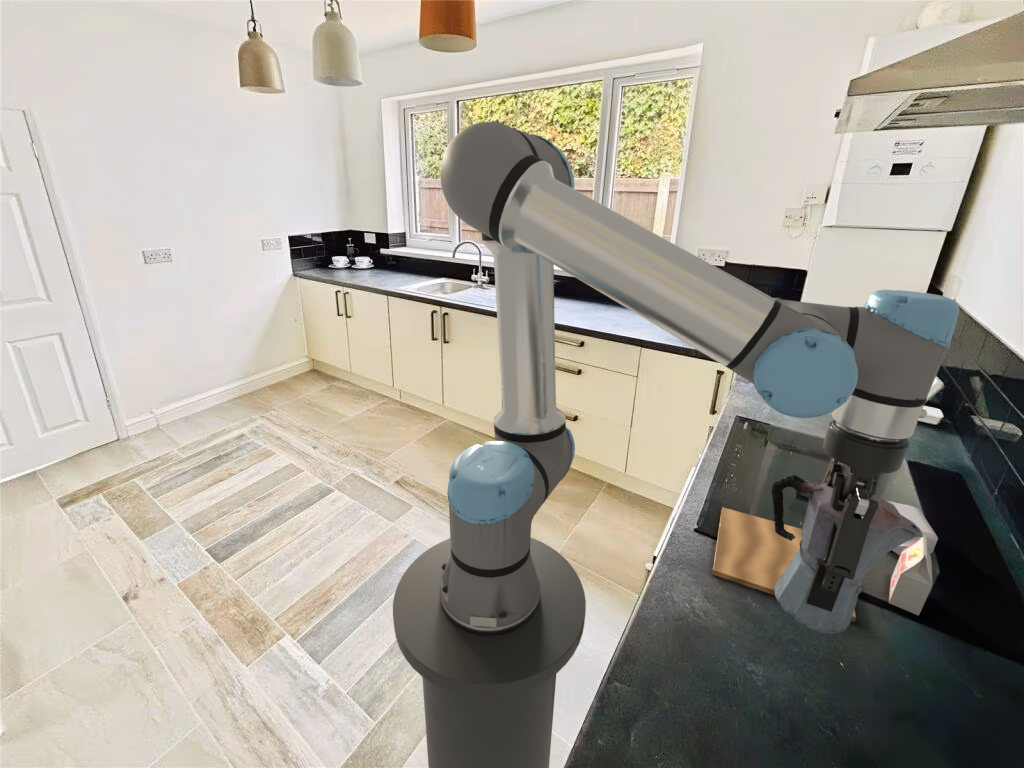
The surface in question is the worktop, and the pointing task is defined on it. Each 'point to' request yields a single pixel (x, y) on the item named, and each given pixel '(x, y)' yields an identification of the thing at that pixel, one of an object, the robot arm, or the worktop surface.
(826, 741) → the worktop surface
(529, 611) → the robot arm
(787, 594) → the moka pot
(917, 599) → the white printed carton
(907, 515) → the charger
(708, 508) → the worktop surface
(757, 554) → the trivet
